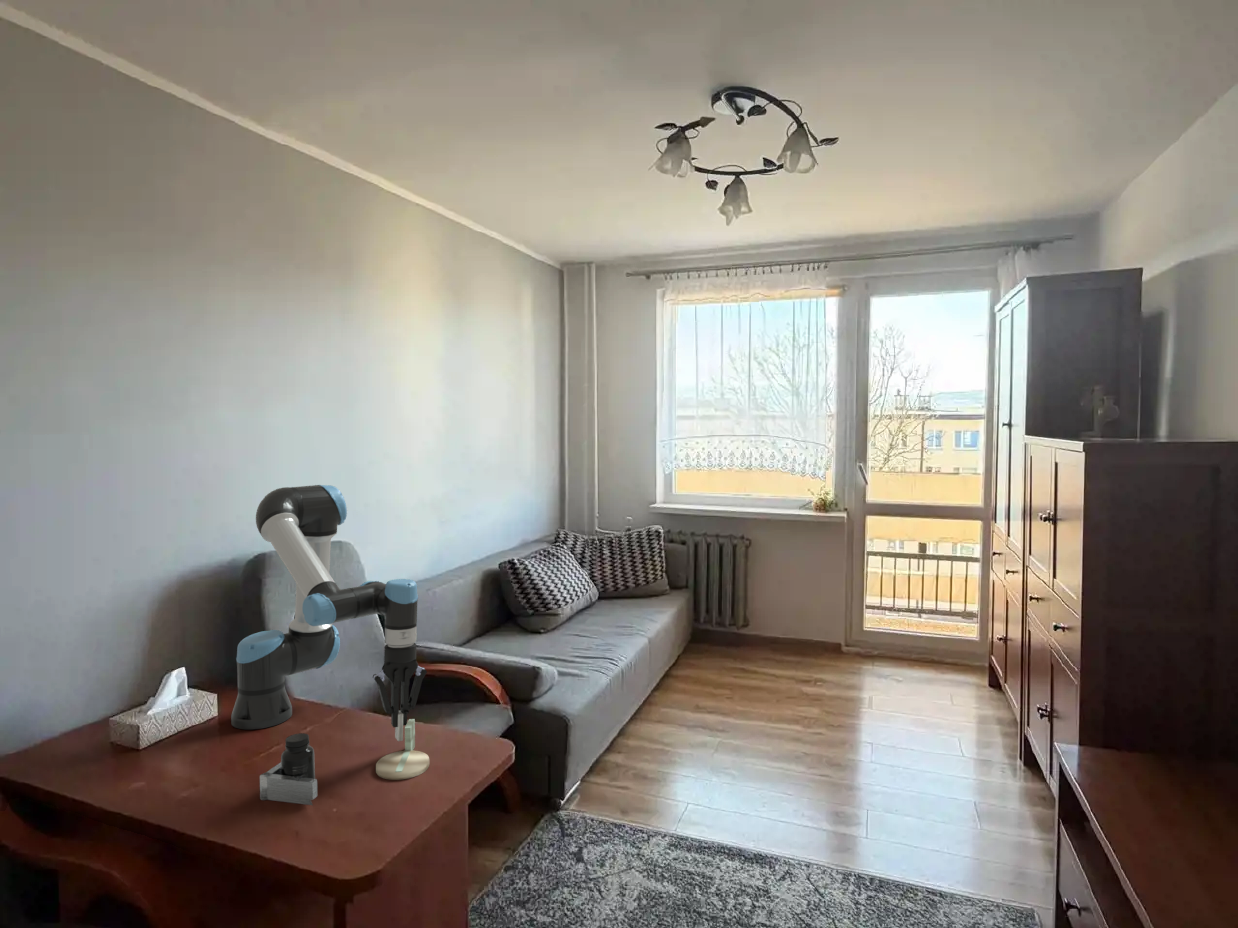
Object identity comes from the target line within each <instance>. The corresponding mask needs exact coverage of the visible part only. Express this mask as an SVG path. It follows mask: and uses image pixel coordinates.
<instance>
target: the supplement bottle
mask: <svg viewBox="0 0 1238 928" xmlns="http://www.w3.org/2000/svg"><path fill="white" fill-rule="evenodd" d="M284 747H285V750H283V751H282V753H281V755H280V762H281V774H282V775H286V776H294V777H303V778H312V779H316V772H315V771H316V768H315V765H316V764H315V749H314V747H313V746H311V745H310V735H309V734H307V733H301V732H300V733H295V734H294V733H293V734H291V735H288V736H287V737H286V738H285V746H284Z"/></svg>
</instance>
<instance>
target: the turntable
mask: <svg viewBox="0 0 1238 928" xmlns="http://www.w3.org/2000/svg"><path fill="white" fill-rule="evenodd" d="M415 724H416V720H415V718H409V719H407V724H406V725H404V750H399V751H396V752H391V753H389V754H386V755H384V756H382V757H381V758H379V760H378V761H376V763H375V773H376V774H377V776H378V777H379V778H382V779H384V780H385V779H386V780H390V781H401V780H408V779H412V778H414V777H418V776H420V775H421V774H423V773H425V772H427V770H428V768H429V767H430V757H429V755H428V754H427V753H425V752H423V751H419V750H415V747H416V738H415V737H416V729H415V728H416V725H415Z"/></svg>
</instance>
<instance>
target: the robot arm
mask: <svg viewBox="0 0 1238 928" xmlns="http://www.w3.org/2000/svg"><path fill="white" fill-rule="evenodd" d="M347 508H348V507H347V504H346V500H345V497H344V496H343V493H342V492H341V491H340V489H339V488H338V487H336V486H333V485H327V484H325V485H324V484H315V485H313V484H312V485H303V486H291V487H288V486H287V487H280V488H276V489H273V490H272V491H270V492H268V493H267V494H266V495H265V496H264V497H263V499H262V500H261V501H260V502H259V504H258V507H257V509H256V514H255V524H256V528H257V531H258V533H259V534H260V536H261V537H262V539H263V540H264V541H265V542H268V543H271V545H272V546H273V548H274V550H275V551H276V553H277V555H278V556H279V558H280V560H281V561H282V563H283V564H284V566H285V568H287V571H288V572H289V573H290V576H291V577H292V579H293V580H294V582H295V583H296V584H295V585H296V586H295V587H296V588H295V611H294V619H292V621H290V622H289V624H288V632H287V633H284V632H283V631H282V630H279V629H270V630H264V631H263V630H262V631H259V632H256V633H252V634H250V635H247V636H246V637H244V638H243V639H242V640H240V642H239V643H238V644H237V649H236V650H237V651H236V657H235V660H236V667H237V668H236V672H237V676H236V677H237V697H236V700H235V703H234V706H233V709H232V712H231V716H230V718H231V719H230V721H231V726H232V727H234V728H236V729H240V730H260V729H266V728H271V727H274V726H277V725H279V724H282V723H284V722H287V721H288V720H289V719H291V717H292V716H293V705H292V703H291V701H290V698H289V696H288V692H287V690H286V686H285V682H286V681H285V679H286V677H287V676H291V675H296V674H301V673H303V672H307V671H310V670H311V671H312V670H317V669H320V668H322V667H325V666H328V665H330V664H331V663H333V662H334V661H335V660H336V659H337V657H338V654H339V651H340V647H341V639H340V636H339V635H340V633H339V630H338V628H337V627H336V626H335V625H334V624H336V623H339V622H343V621H348V620H352V619H353V620H354V619H357V618H363V617H366V616H372V615H381V616H384V644H385V646H384V650H383V651H384V654H383V661H384V663H383V665H382V667H381V671H379V672H378V673H374V674H373V675H372V679H373V680H374V682H375V683H376V685H377V690H378V692H379V697H380V700H381V703H382V708H383V710H384V712H385V713H386V714H387V715H388V714H391V716H390V717H391V720H390V721H391V722H390V723H391V726H392V728H394V729H395V730H394V738H395V739H396V741H397V742H402V741H404V727H405V726H406V724H407V722H408V714H409V713H410V710H414V709H416V706H417V705H416V704H417V701H418V698H419V694H420V691H421V687H422V683H423V679H424V678H425V676H426V675H427V673H428V671H427V670H426V669H425V667H423V666H422V667H421V666H419V663H418V661H417V644H416V642H417V637H418V636H417V633H418V631H417V630H418V629H417V624H418V601H419V600H418V599H419V595H418V584H417V582H416V581H415V580H413V579H408V578H407V579H405V578H397V579H390V580H389V581H387V582H385V583H384V582H382V581H379V580H378V581H377V580H375V581H374V580H368V581H365V582H363V583H362V584H360V585H359V586H354V587H348V588H339V585H338V584H337V583H336V582H335V580H334V579H333V577H332V576H331V574H330V566H331V565H330V564H331V548H332V547H331V545H332V538H333V537H334V536H336V535H337V533H338V526H340V525H342V524H344V523H345V520H346V518H347V515H348V513H347V511H348V510H347ZM414 674H415V676H414ZM385 676H386V678H387V679H389V680H388V681H389V682H390V701H389V696H388V693H387V690H386V685H385V683H384V681H385ZM413 676H414V679H413V682H412V683H413V684H412V687H411V689H410V693H409V688H410V687H409V686H410V680H411V678H412V677H413ZM399 691H400V692H399ZM399 693H400V695H399ZM399 698H400V699H399ZM399 700H400V701H399ZM399 703H400V704H399ZM399 705H400V707H399ZM399 709H400V710H399Z"/></svg>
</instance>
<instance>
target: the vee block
mask: <svg viewBox="0 0 1238 928" xmlns="http://www.w3.org/2000/svg"><path fill="white" fill-rule="evenodd" d="M317 797H318V779H317V778H315V779H312V778H303V777H294V776H286V775H282V774H281V761H280V762H279V763H277V764H276V765H274V766H273V767H272V768H270V769H269V770H268V771H266V772H264V773H262V774H260V775H259V799H260V800H261V801H276V802H284V803H290V804H300V805H307V806H314V805H313V802H312V801H313V800H314V799H316V798H317Z"/></svg>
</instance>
